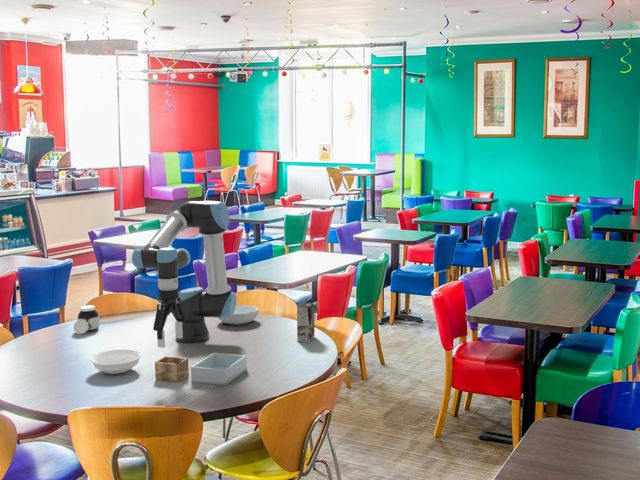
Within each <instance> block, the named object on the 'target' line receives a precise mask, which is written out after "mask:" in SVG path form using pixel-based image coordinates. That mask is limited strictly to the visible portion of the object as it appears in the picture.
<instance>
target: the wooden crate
mask: <svg viewBox="0 0 640 480" xmlns="http://www.w3.org/2000/svg"><path fill="white" fill-rule="evenodd" d="M189 371H190V370H189V358H188V357H178V356H177V357H176V356H168V355H166V356H163V357H161V358H160V359H158V360H157V361H154V373H155V375H154V376H155V380H156V381H163V382H164V381H165V382H174V383H180V382H182V381H183V380H184V379H186V378H187V377H188V376H190V373H189Z"/></svg>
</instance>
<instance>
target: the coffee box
mask: <svg viewBox="0 0 640 480" xmlns="http://www.w3.org/2000/svg"><path fill="white" fill-rule="evenodd" d="M296 327H297V330H296V331H297V332H296V335H297V338H296V339H297V340H296V341H297V342H298V343H299V342H303V343H311V342H312V341H313V340H314V338H315V335H316V334H315V333H316V332H315V303H314V302H300V303H299V304H298V306H296Z"/></svg>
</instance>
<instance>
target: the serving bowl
mask: <svg viewBox="0 0 640 480" xmlns="http://www.w3.org/2000/svg"><path fill="white" fill-rule="evenodd" d="M258 314H259V308H258V307H257V306H254V305H248V304H236V307H235V311H234V313H233V315H232V316H231V317H229V318H218V320H219V321H221V322H222V323H224V324H228V325H232V326H233V325H234V326H235V325H236V326H240V325H245V324H248V323H251V322H252V321H254V320H255V319H256V318H257V316H258Z"/></svg>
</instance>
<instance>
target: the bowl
mask: <svg viewBox="0 0 640 480" xmlns="http://www.w3.org/2000/svg"><path fill="white" fill-rule="evenodd" d="M141 358H142V353H141V352H140V351H138V350H132V349H113V350H107V351H103V352H98V353H95V354H94V355H92V356H91V357H90V362H91V363H92V364H93V366H94V368H95V369H97V370H99V371H100V372H103V373H105V374H108V375H119V374H123V373H127V372H128V371H130V370H131V369H133V368H134V367H135V366H137V365H138V364H139V360H140V359H141Z"/></svg>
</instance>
